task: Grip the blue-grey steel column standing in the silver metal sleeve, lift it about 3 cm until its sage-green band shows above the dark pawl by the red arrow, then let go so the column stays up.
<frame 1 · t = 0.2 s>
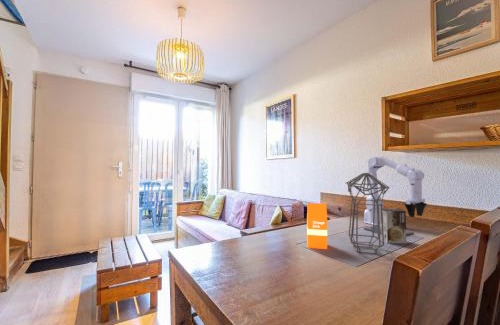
hand: (415, 216, 132), 10 cm above the table, tool pointing down, fingers open, 7 cm apart
column: (388, 223, 137), point 5 cm above the table, slide at 0.0 cm
stand base: (388, 231, 137), on the table
coffee box: (393, 242, 119), on the table
orange juice: (316, 246, 113), on the table
geometric lantern: (366, 251, 106), on the table
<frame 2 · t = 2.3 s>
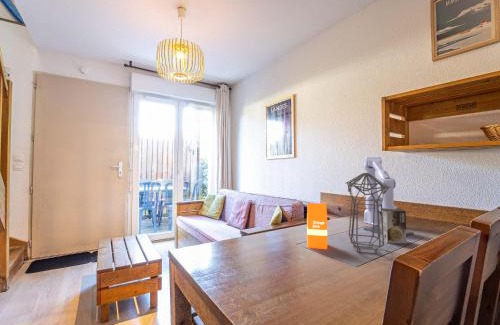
hand: (387, 223, 137), 5 cm above the table, tool pointing down, fingers closed on column, 4 cm apart
column: (388, 223, 137), point 5 cm above the table, slide at 0.0 cm, touching gripper
everything else where it was.
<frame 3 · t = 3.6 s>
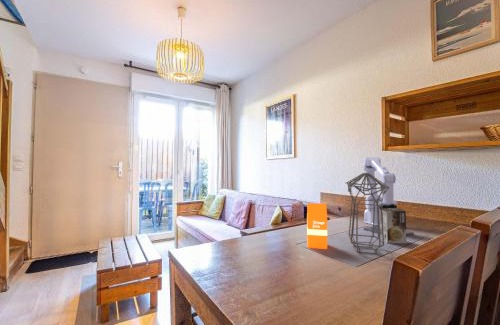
hand: (387, 217, 137), 8 cm above the table, tool pointing down, fingers closed on column, 4 cm apart
column: (387, 218, 137), point 7 cm above the table, slide at 2.9 cm, touching gripper
everything else where it was.
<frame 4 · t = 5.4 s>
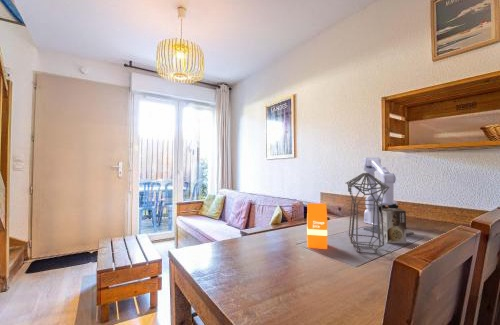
hand: (387, 217, 137), 8 cm above the table, tool pointing down, fingers open, 7 cm apart
column: (387, 218, 137), point 7 cm above the table, slide at 2.9 cm
everything else where it was.
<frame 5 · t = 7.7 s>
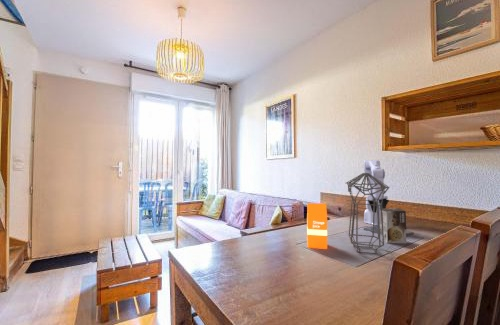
hand: (378, 211, 142), 10 cm above the table, tool pointing down, fingers open, 7 cm apart
nothing on the table moved.
at the end: column slide at 2.9 cm; the gripper is holding nothing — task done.
